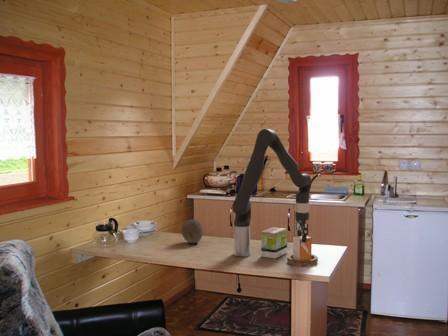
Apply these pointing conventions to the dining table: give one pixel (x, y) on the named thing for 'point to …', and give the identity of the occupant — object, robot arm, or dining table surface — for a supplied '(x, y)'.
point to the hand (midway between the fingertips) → (301, 240)
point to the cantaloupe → (192, 231)
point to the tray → (302, 261)
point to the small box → (302, 248)
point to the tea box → (273, 242)
